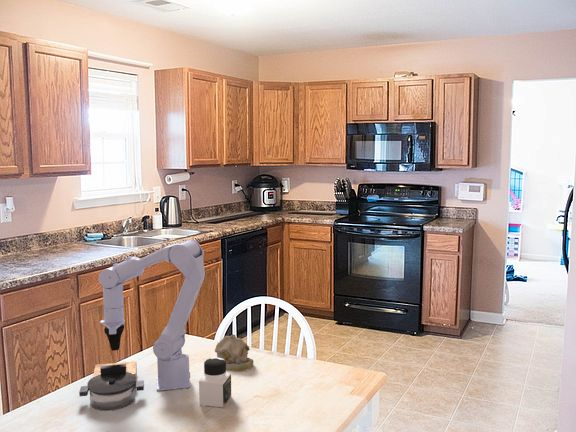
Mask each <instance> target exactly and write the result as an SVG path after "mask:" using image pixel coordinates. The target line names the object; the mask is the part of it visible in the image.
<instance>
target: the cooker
mask: <svg viewBox="0 0 576 432" xmlns="http://www.w3.org/2000/svg"><path fill="white" fill-rule="evenodd" d="M120 364H126V372H129V373H132V374H134V375H135V376H136V384H135V385H134V386H133V387H132V388H130V389H129V390H126V391H124V392H120V393H115V394H95V393H92V392H90V391H89V390H88V385H81V386H80V389H79V393H78V394H79V397H88V394H89V402H90V403H89V404H90V407H91V408H93V409H95V410H99V411H104V412H105V411H115V410H119V409H124V408H126V407H129V406H130V405H131V404H133V403H134V402H135V400H136V391H138V392H139V391H145V380H137V378H138V370H137V369H138V368H137V365H138V364H137V361H135V360H134V361H123V362H112V363H102V364H101V363H100V364H95V367H94V370H93V374H92V377H91V379H92V378H93V377H95V376H97V375H100V374H101V373H100V368H101V366H108V365H120Z"/></svg>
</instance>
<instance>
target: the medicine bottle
mask: <svg viewBox="0 0 576 432" xmlns="http://www.w3.org/2000/svg"><path fill="white" fill-rule="evenodd" d="M203 371H204V372H203V373H204V375H203V376H202V377H201V378H200V380H199V381H198V397H199V398H198V399H199V402H198V403H199V406H204V407H214V408H225V406H226V405H227V403H228V402H229V400H230V399H231V397H232V374H231V372H227V370H226V361H225V360H224V359H222V358H217V356H216V357H215V356H214V357H211V358H208V359H205V360H204V363H203Z"/></svg>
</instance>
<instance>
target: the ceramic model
mask: <svg viewBox="0 0 576 432" xmlns="http://www.w3.org/2000/svg"><path fill="white" fill-rule="evenodd" d="M250 349H251V348H250V346H249V345H248V343H246V342H245V341H244V339H242V338H239V337H237V336H236V334H230V335H225V336H223V338H221V340H220V341H219V342H217V344H216V345H215V348H214V352H215V354H216V357H217V358H222V359H224V360H225V361H226V371H231V372H246V371H249V369H252V367H253V366H254V359H252V358H250V357H248V354H249V352H250Z"/></svg>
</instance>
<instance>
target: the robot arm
mask: <svg viewBox="0 0 576 432" xmlns="http://www.w3.org/2000/svg"><path fill="white" fill-rule="evenodd" d="M204 256H205V251H204V249H203V248H202V246H201V244H200V243H199V242H198V241H197V240H195V239H187V240H185V241H184V242H181V241H180V242H177V243H173V244H169V245H167V246H165V247H163V248H160V249H158V250H156V251H154V252H151V253H149V254H148V255H146V256H144V257H141V258H140V257H138V256H132V255H129V256H128V257H126V258H125V260H123V261H121V262H119V263H118V262H116V263H113V264H112V266H110V267H108V268H104V269H103V270H102V271H101V272H99V274H98V282H99V285H100V286H101V287H102V300H103V302H102V303H103V319H102V320H100V322H99V324H100V325H104V329H103V331H104V334H105V335H106V337H107V340H108V342H109V347H110V350H111V351H119V350H120V345H121V338H122V334H123V332H124V330H125V321H126V320H125V313H124V283H125V282H127V281H130V280H132V279H135V278H137V277H140V276H142V275H143V274H144V271H145V269H146V268H148V267H150V266H154V265H156V264H158V263H161V262H167V263H168V264H170V263H172V264H173V265H174V266H175V267H176V268H177V269H178V271H179V272H181V273H182V275H183V277H184V280H183V282H182V286H181V288H180V291H179V294H178V295H177V299H176V301H175V304H174V306H173V308H172V310H171V315H170V316H169V319H168V322H167V325H166V326H165V328H164V329H163V330H162V331H161V334H160V336H159V338H158V339H157V340H156V341H155V342H154V343H153V346H152V350H153V354H154V355H155V357H156V358H157V361H156V362H157V378H156V391H157V392H158V391H168V390H169V391H170V390H179V389H187V388H188V389H189V388H191V386H190V385H191V383H190V379H191V372H190V357H189V353H183V352H182V348H183V347H184V346H185V343H186V338H185V337H186V332H187V329H186V325H187V323H188V321H189V318H190V316H191V313H192V311H193V309H194V308H193V307H194V305H195V303H196V300H197V298H198V295H199V294H200V293H199V292H200V289H202V288H201V287H202V285H203V282H204V280H205V277H206V273H205V271H206V270H205V262H204V261H205V260H204Z"/></svg>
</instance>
